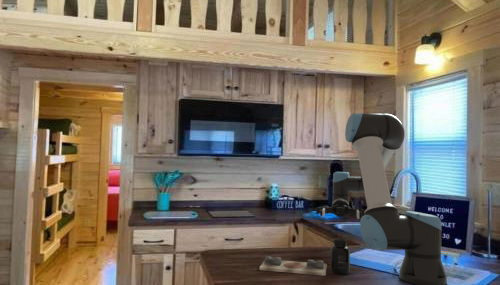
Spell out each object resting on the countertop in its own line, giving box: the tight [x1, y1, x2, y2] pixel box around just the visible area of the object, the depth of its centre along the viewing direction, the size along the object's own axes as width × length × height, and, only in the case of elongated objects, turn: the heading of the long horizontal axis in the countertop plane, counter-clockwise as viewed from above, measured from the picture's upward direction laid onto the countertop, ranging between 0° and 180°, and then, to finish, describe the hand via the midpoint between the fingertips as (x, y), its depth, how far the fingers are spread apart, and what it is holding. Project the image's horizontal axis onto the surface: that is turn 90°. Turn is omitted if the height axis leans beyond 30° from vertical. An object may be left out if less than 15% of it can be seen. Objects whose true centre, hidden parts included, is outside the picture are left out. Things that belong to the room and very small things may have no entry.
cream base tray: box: [258, 255, 328, 277], centre depth 148 cm, size 24×12×3 cm, turn 77°
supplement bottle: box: [330, 237, 351, 276], centre depth 144 cm, size 7×7×12 cm
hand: (340, 214), depth 156 cm, fingers open, 13 cm apart
